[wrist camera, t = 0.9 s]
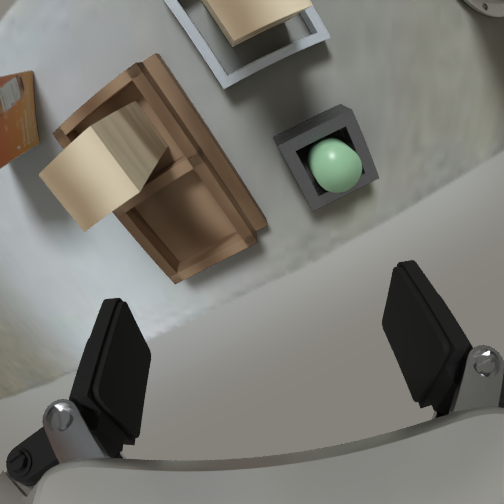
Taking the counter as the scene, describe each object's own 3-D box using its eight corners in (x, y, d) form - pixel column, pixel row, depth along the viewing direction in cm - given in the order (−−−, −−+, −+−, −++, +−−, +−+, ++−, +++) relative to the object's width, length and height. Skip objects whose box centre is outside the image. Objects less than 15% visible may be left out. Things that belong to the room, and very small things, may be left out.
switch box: (340, 104, 26) (351, 109, 24) (367, 166, 30) (379, 178, 27) (273, 137, 28) (277, 146, 25) (305, 197, 32) (312, 211, 29)
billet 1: (136, 100, 24) (90, 125, 15) (168, 145, 26) (139, 192, 18) (93, 133, 25) (38, 174, 16) (124, 175, 27) (84, 231, 19)
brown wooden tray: (158, 53, 23) (149, 53, 20) (265, 218, 33) (269, 236, 30) (61, 131, 25) (43, 142, 23) (170, 268, 35) (165, 289, 32)
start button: (339, 129, 26) (351, 138, 23) (356, 167, 28) (368, 179, 25) (299, 149, 27) (307, 160, 24) (318, 186, 29) (326, 200, 26)
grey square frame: (263, -56, 17) (266, -63, 16) (324, 38, 23) (330, 37, 21) (161, -6, 20) (156, -10, 18) (224, 87, 25) (223, 89, 23)
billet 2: (255, -23, 19) (268, -61, 11) (284, 22, 22) (313, 5, 14) (202, 2, 20) (188, -25, 12) (232, 47, 23) (233, 41, 15)
